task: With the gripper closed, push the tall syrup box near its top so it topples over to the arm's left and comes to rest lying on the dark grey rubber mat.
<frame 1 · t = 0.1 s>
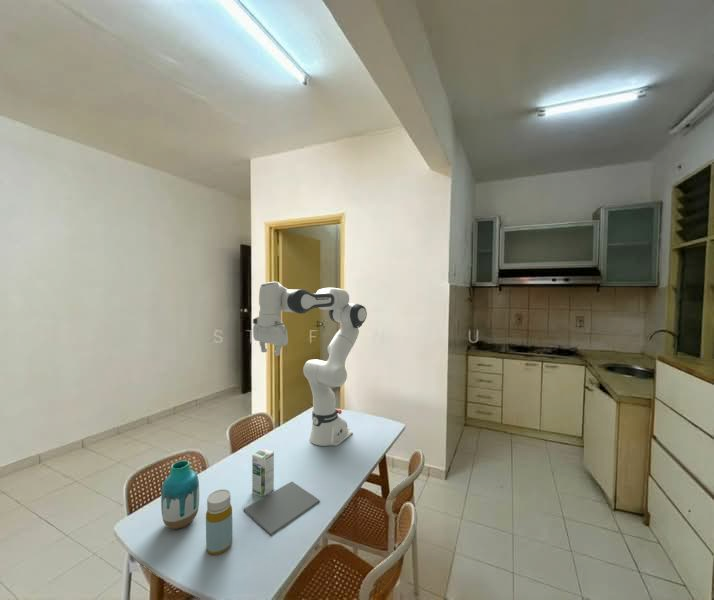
hand: (270, 353, 130), 48 cm above the table, fingers open, 8 cm apart
vase: (181, 523, 100), on the table
bottle: (219, 546, 91), on the table
mat: (282, 506, 107), on the table
syrup box: (263, 491, 115), on the table
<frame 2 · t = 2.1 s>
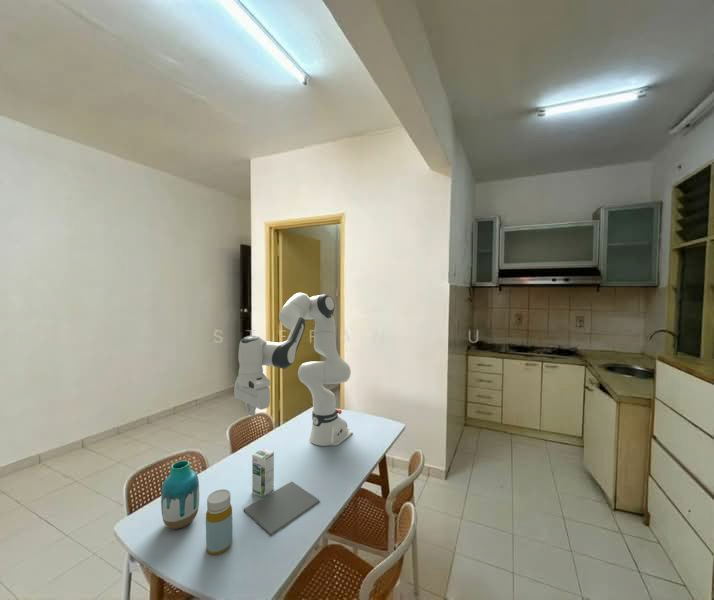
hand: (251, 414, 119), 27 cm above the table, fingers closed
nothing on the table moved.
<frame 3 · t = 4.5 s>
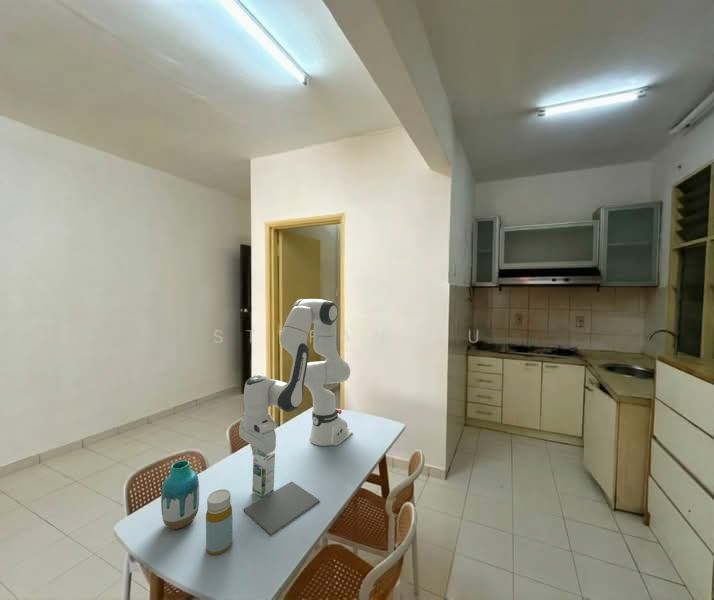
hand: (256, 456, 117), 12 cm above the table, fingers closed
syrup box: (263, 490, 115), on the table, touching gripper
everything else where it was.
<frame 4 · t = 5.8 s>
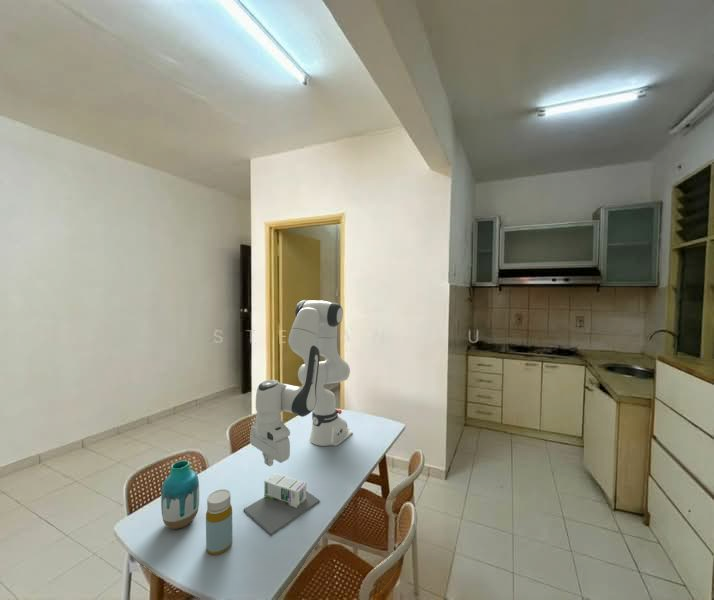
hand: (268, 464, 112), 12 cm above the table, fingers closed
syrup box: (268, 483, 114), point 3 cm above the table, touching mat
everything else where it was.
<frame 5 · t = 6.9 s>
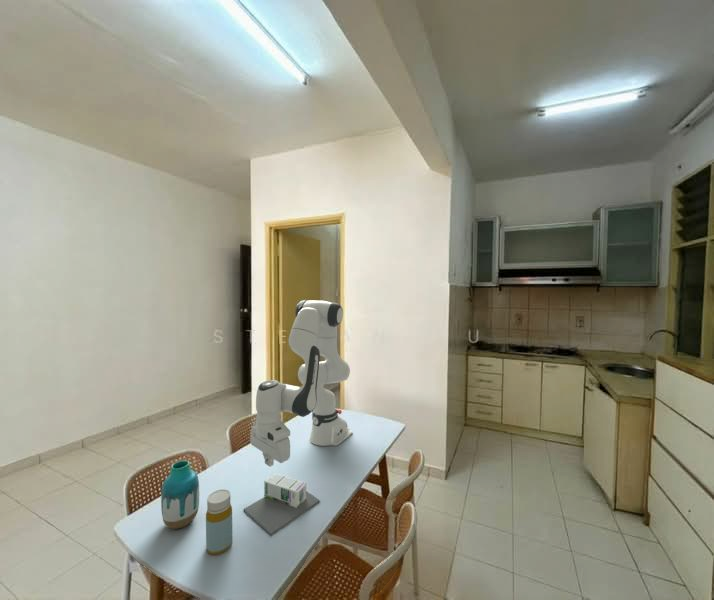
hand: (269, 464, 112), 12 cm above the table, fingers closed
nothing on the table moved.
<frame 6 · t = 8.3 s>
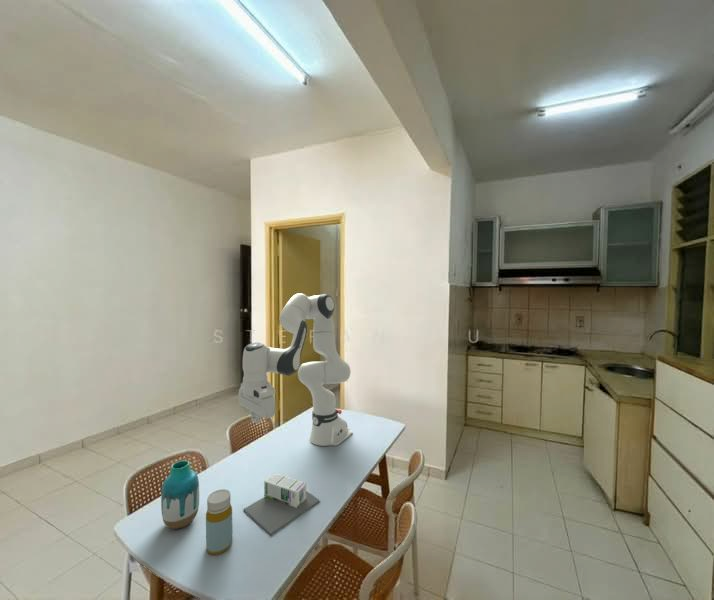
hand: (256, 422, 118), 24 cm above the table, fingers closed
nothing on the table moved.
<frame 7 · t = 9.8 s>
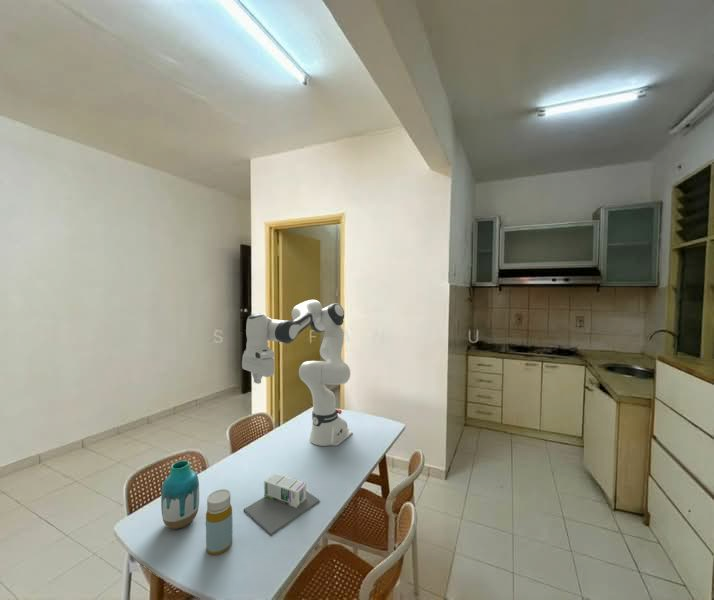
hand: (257, 382, 134), 34 cm above the table, fingers closed
nothing on the table moved.
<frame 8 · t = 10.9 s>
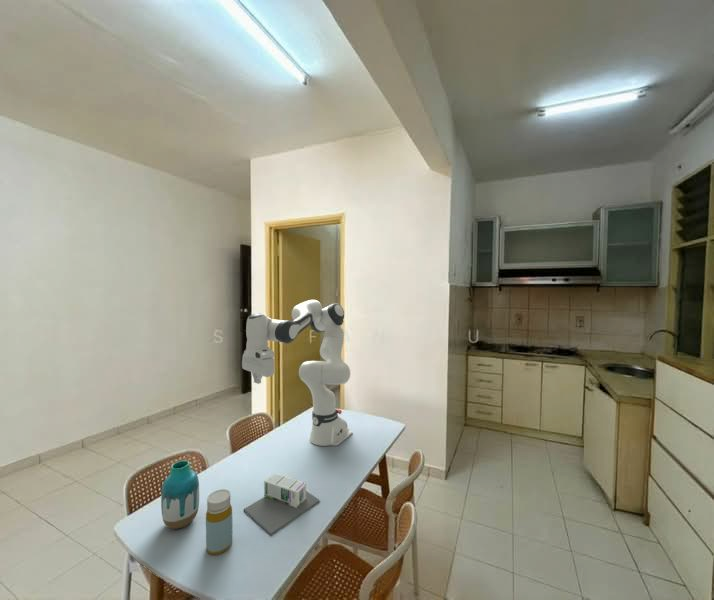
hand: (257, 382, 134), 34 cm above the table, fingers closed
nothing on the table moved.
at the end: syrup box tilted 90°; syrup box inside the target area (7.4 cm from its centre), point 3.5 cm above the table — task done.
